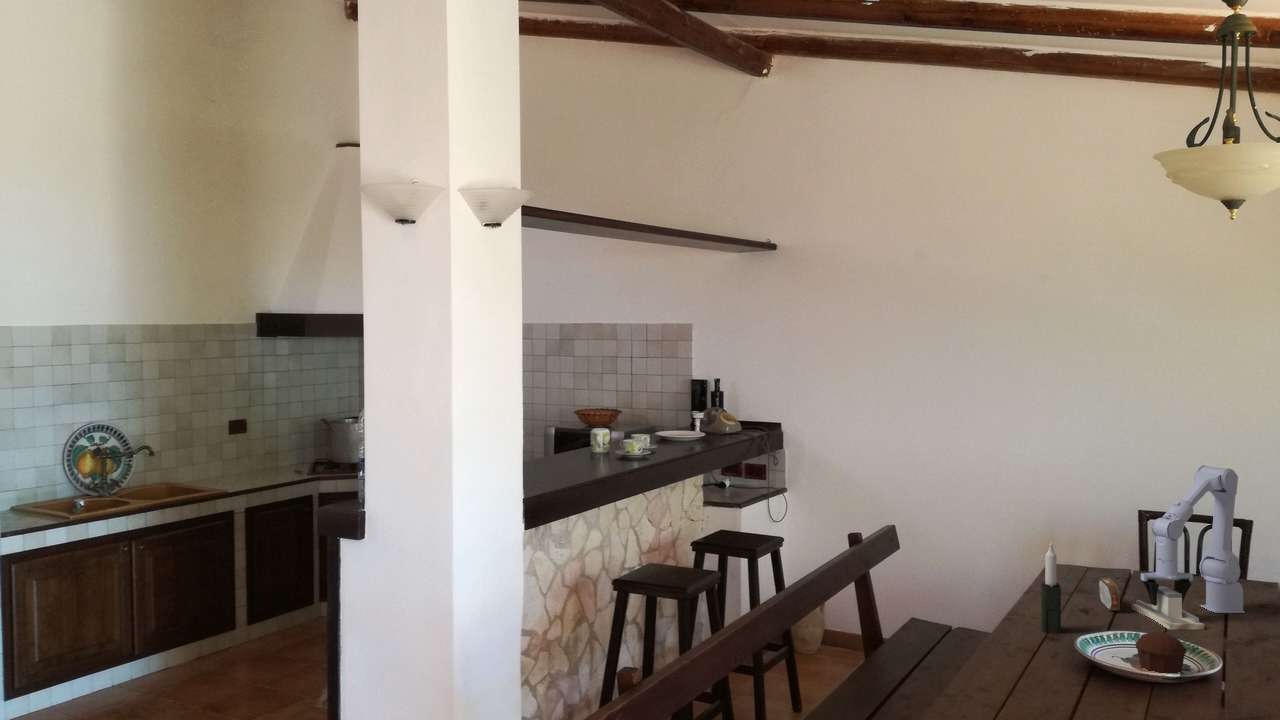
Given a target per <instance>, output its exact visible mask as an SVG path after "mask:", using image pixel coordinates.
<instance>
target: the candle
mask: <svg viewBox="0 0 1280 720" xmlns="http://www.w3.org/2000/svg"><path fill="white" fill-rule="evenodd" d="M1044 558H1045V559H1044V561H1045V566H1044V569H1045V572H1044V573H1045V575H1044V577H1045V579H1044V580H1045V581H1042V583H1041V584H1040V629H1041V632H1043V633H1051V634H1061V632H1062V627H1061V626H1062V623H1061V621H1062V618H1061V617H1062V611H1061V610H1062V609H1061V607H1062V590H1061V589H1062V587H1061V585H1060V583H1058V582H1057V554H1056V552H1055V551H1054V548H1053V543H1051V542H1050V543H1049V547H1048V551H1047V552H1046V553H1045V557H1044Z"/></svg>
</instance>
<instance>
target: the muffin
mask: <svg viewBox="0 0 1280 720" xmlns="http://www.w3.org/2000/svg"><path fill="white" fill-rule="evenodd" d="M1135 647H1136V649H1137V655H1138V661H1139V666H1140V665H1141V668H1145V669H1147V670H1148V671H1155V672H1159V673H1178V672H1181V673H1182V672H1183V671H1182V670H1183V666H1184V665H1183V664H1184V660H1185V655H1186V653H1187V649H1186V647H1185V646H1184V644H1183V643H1182V642H1181V640H1179V639H1178V638H1177V637H1176V636H1174V635H1173V634H1170V633H1167V632H1165V631H1161V630H1160V631H1156V630H1155V631H1149V632H1146V633H1144V634H1142V635H1141V636H1140V637H1139V638H1138V639H1137V640H1136V642H1135Z"/></svg>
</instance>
